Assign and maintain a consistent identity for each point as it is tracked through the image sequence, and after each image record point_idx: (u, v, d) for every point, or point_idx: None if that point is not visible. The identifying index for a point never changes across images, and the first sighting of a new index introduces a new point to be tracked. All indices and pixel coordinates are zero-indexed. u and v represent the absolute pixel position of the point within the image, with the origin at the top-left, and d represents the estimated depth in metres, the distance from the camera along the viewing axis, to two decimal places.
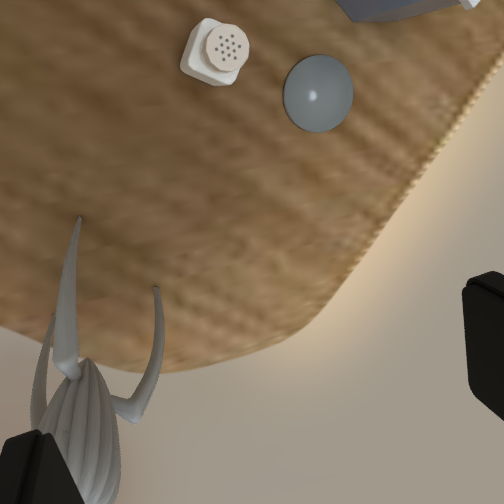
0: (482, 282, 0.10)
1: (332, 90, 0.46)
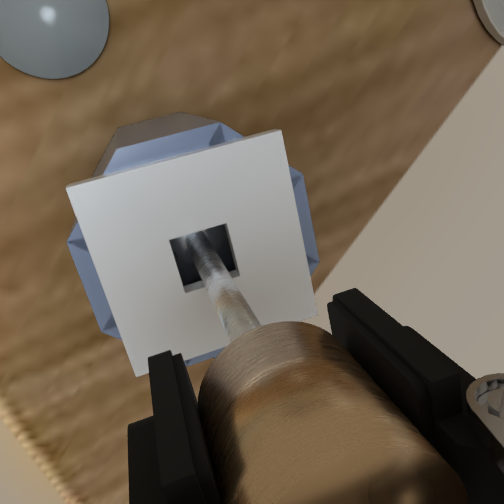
0: (340, 299, 0.11)
1: (40, 37, 0.28)
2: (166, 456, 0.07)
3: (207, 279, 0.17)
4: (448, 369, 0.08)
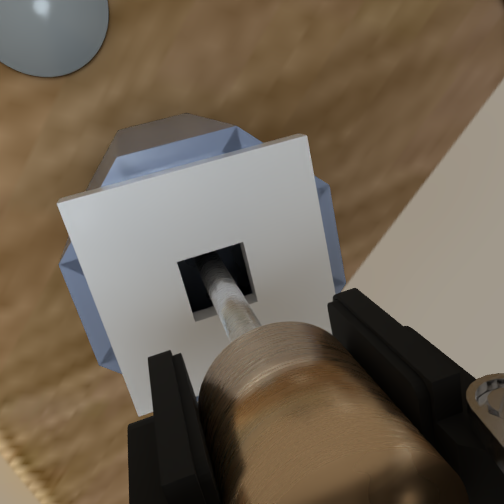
0: (340, 299, 0.11)
1: (32, 30, 0.25)
2: (166, 456, 0.07)
3: (207, 279, 0.17)
4: (448, 369, 0.08)
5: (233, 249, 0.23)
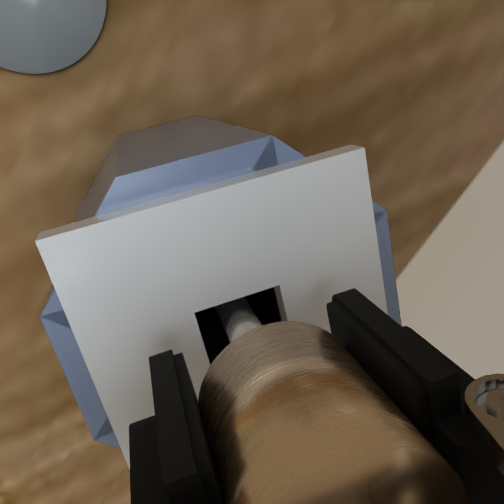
0: (339, 299, 0.11)
1: (16, 19, 0.21)
2: (168, 455, 0.07)
3: None
4: (447, 369, 0.08)
5: None
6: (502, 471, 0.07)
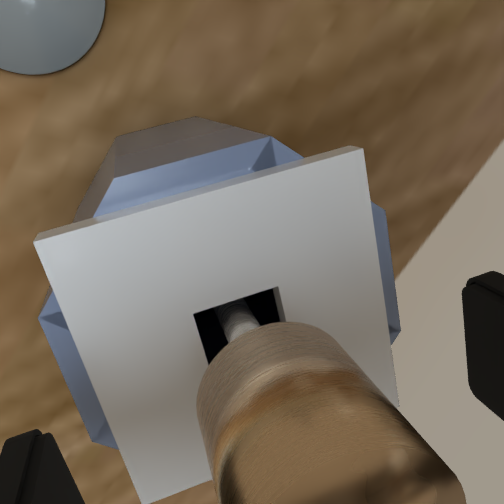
0: (482, 282, 0.10)
1: (15, 20, 0.21)
2: None
3: None
4: None
5: None
6: None
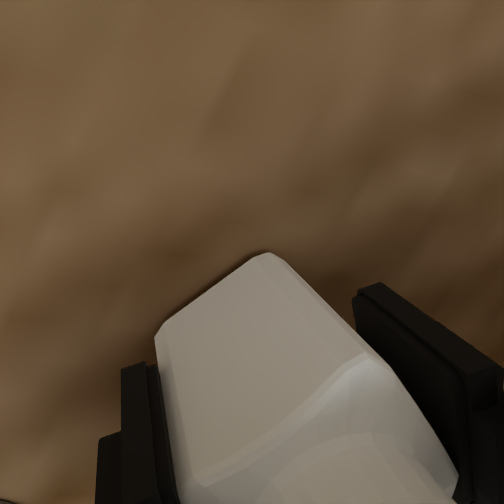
0: (366, 293, 0.11)
1: None
2: (129, 476, 0.07)
3: None
4: (484, 361, 0.08)
5: None
6: None
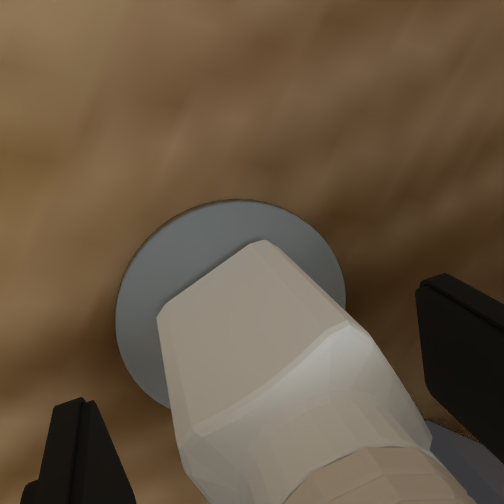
0: (432, 284, 0.11)
1: None
2: None
3: None
4: None
5: None
6: None
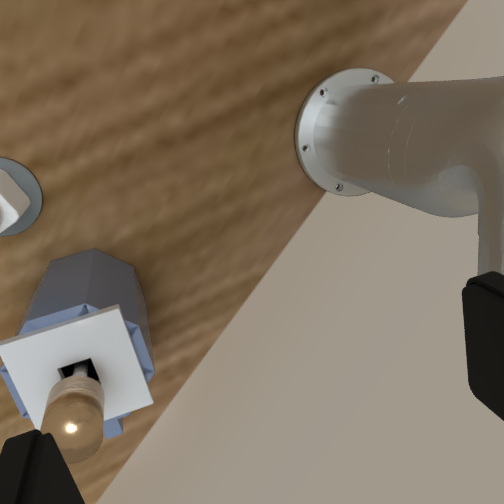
0: (482, 282, 0.10)
1: None
2: None
3: None
4: None
5: None
6: None
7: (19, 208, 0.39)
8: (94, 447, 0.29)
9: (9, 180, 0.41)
